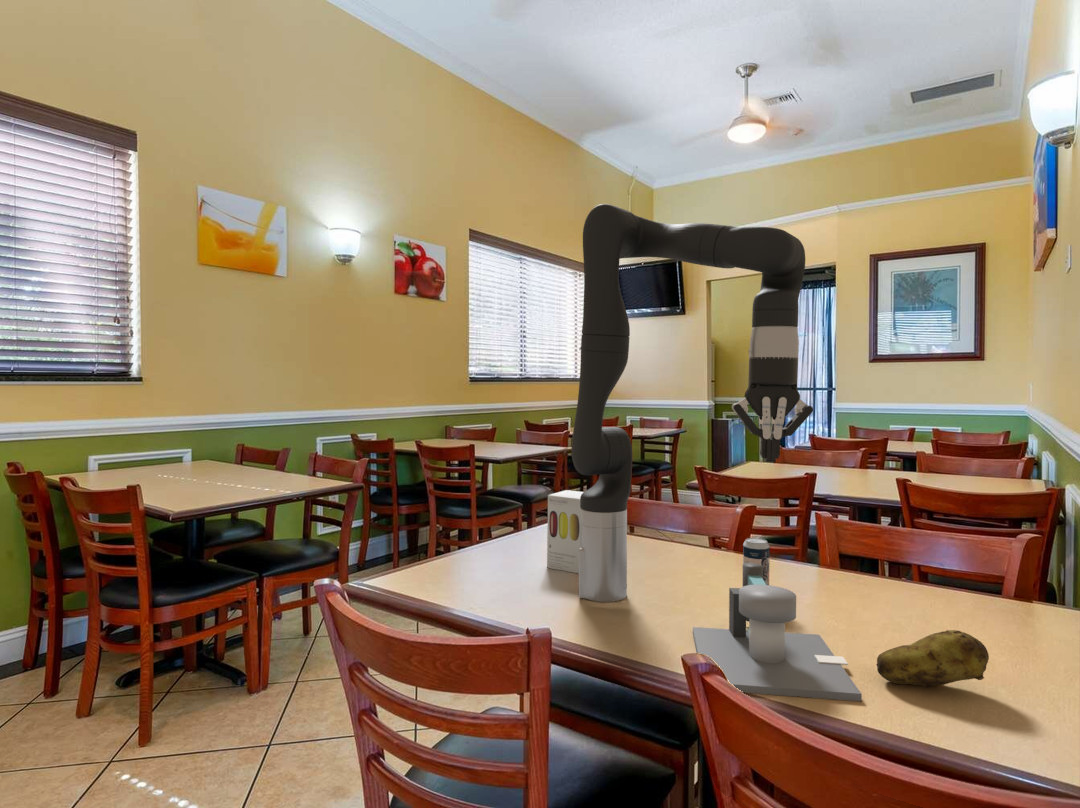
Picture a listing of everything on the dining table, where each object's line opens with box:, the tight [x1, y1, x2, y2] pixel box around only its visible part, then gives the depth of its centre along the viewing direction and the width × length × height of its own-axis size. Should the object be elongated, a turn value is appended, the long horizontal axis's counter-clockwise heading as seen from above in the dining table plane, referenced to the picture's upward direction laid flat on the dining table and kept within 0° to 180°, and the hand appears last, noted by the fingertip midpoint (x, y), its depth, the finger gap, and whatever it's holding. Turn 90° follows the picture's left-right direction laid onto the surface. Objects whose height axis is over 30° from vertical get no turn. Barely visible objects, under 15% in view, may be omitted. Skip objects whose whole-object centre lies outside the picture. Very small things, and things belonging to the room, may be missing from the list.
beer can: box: [742, 537, 771, 585], centre depth 119 cm, size 5×5×12 cm
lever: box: [739, 563, 797, 624], centre depth 98 cm, size 18×8×9 cm, turn 171°
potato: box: [876, 629, 990, 687], centre depth 86 cm, size 8×13×8 cm, turn 57°
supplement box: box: [546, 489, 584, 575], centre depth 144 cm, size 10×9×17 cm
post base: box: [692, 587, 862, 702], centre depth 94 cm, size 21×21×8 cm
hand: (769, 461), depth 103 cm, fingers closed
